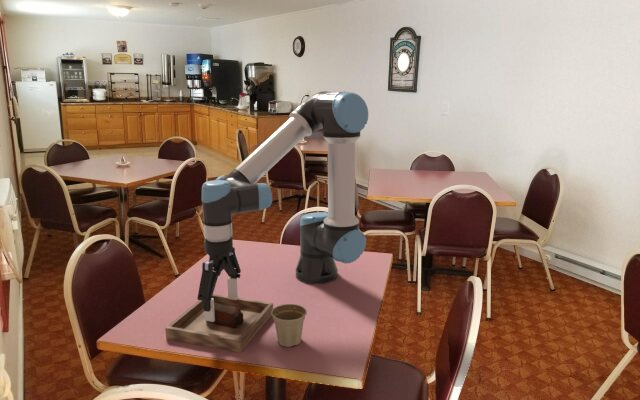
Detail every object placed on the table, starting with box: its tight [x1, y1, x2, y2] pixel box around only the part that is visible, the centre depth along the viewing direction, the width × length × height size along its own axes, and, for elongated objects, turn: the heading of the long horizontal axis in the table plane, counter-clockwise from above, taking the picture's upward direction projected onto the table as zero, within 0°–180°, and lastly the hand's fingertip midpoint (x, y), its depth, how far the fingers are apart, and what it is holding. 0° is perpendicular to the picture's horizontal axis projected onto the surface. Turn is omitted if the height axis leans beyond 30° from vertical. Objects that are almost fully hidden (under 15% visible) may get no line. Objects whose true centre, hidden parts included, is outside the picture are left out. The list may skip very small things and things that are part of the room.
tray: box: [164, 293, 274, 353], centre depth 130 cm, size 22×22×3 cm
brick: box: [207, 303, 243, 328], centre depth 130 cm, size 11×4×5 cm, turn 68°
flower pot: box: [271, 303, 308, 348], centre depth 122 cm, size 9×9×9 cm
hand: (221, 309), depth 129 cm, fingers open, 13 cm apart
